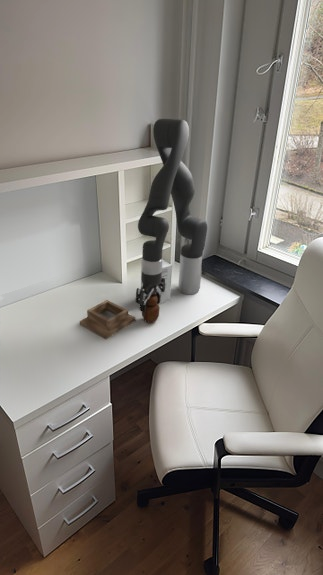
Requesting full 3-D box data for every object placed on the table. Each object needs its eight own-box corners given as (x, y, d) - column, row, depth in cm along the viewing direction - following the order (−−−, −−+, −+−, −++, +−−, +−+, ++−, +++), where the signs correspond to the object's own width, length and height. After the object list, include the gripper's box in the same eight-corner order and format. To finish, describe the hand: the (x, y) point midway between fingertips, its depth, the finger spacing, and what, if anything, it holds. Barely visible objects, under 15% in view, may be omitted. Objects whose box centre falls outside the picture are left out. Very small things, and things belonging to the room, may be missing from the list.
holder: (109, 307, 166) (109, 296, 164) (135, 320, 159) (135, 308, 156) (79, 324, 155) (79, 312, 153) (106, 339, 148) (105, 326, 145)
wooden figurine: (143, 325, 157) (144, 291, 149) (140, 317, 161) (140, 283, 154) (160, 323, 158) (162, 289, 151) (156, 315, 163) (158, 282, 156)
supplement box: (139, 296, 175) (140, 261, 167) (157, 290, 180) (158, 256, 172) (152, 306, 169) (154, 270, 160) (170, 300, 174) (172, 264, 165)
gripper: (156, 260, 156) (154, 296, 164) (130, 272, 146) (130, 311, 154) (171, 266, 152) (169, 303, 160) (146, 279, 142) (145, 318, 150)
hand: (150, 307), depth 157 cm, fingers open, 8 cm apart
